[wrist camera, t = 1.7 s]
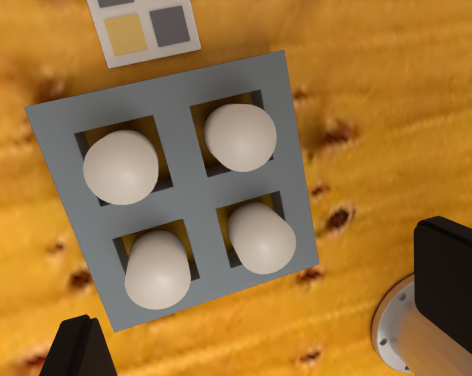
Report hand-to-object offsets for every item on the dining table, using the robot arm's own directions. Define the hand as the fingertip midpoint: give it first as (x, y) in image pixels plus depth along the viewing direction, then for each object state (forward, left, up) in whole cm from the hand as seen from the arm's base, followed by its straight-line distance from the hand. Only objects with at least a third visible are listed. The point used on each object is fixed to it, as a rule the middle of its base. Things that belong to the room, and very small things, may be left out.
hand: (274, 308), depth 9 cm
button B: (-3, +5, -17) cm, 18 cm away
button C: (+5, -3, -17) cm, 18 cm away
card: (+1, -13, -20) cm, 23 cm away
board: (+1, +1, -20) cm, 20 cm away
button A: (-3, -3, -17) cm, 18 cm away
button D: (+5, +5, -17) cm, 19 cm away
